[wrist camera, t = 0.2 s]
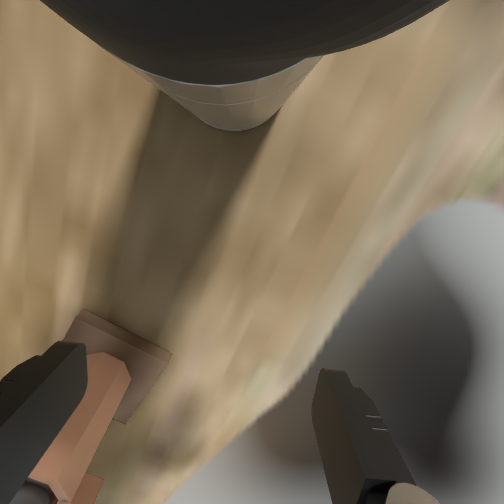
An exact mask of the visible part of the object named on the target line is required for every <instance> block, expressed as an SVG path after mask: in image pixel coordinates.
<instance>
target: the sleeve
mask: <svg viewBox="0 0 504 504" xmlns="http://www.w3.org/2000/svg"><path fill="white" fill-rule="evenodd" d="M87 373H88V384H87V389H86V392H85V395H84V397H83V399H82V401H81V402H80V404H79V405H78V407H77V408H76V409H75V411H74V412H73V414H72V415H71V416H70V418H69V419H68V421H67V422H66V424H65V425H64V426H63V428H62V429H61V431H60V432H59V434H58V435H57V436H56V438H55V439H54V441H53V442H52V444H51V445H50V446H49V448H48V449H47V451H46V452H45V454H44V455H43V456H42V458H41V459H40V461H39V462H38V464H37V465H36V466H35V468H34V469H33V471H32V472H31V473H30V475H29V476H28V478H31V479H34V480H37V481H39V482H42V483H45V484H48V485H49V487H50V488H51V490H52V491H51V492H50V494H49V497H50V503H49V504H94V501H95V499H96V497H97V494H98V492H99V490H100V487H101V485H102V483H103V480H104V479H101V478H99V477H96V476H93V475H91V474H88V473H86V470H87V468H88V466H89V464H90V462H91V460H92V458H93V456H94V454H95V452H96V450H97V448H98V446H99V444H100V442H101V440H102V438H103V436H104V434H105V432H106V430H107V428H108V426H109V424H110V422H111V420H112V418H113V416H114V414H115V412H116V410H117V408H118V406H119V404H120V402H121V400H122V397H123V395H124V393H125V391H126V389H127V387H128V385H129V383H130V381H131V377H130V374H129V372H128V370H127V367H126V365H125V363H124V362H123V361H121V360H119V359H117V358H115V357H113V356H111V355H109V354H107V353H105V352H100V353H94V354H88V355H87Z"/></svg>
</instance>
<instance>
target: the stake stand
mask: <svg viewBox="0 0 504 504" xmlns="http://www.w3.org/2000/svg"><path fill="white" fill-rule="evenodd" d="M63 341H67V342H77V343H84V344H85V346H86V354H87V355H88V354H94V353H100V352H105V353H107V354H109V355H111V356H113V357H115V358H117V359H119V360H121V361H123V362H124V363H125V365H126V367H127V370H128V372H129V374H130V377H131V381H130V383H129V385H128V387H127V389H126V391H125V393H124V395H123V397H122V400H121V402H120V404H119V406H118V408H117V410H116V412H115V414H114V416H113V418H112V419H114V420H117V421H119V422H121V423H124V424H126V422H127V421H128V419H129V418H130V417H131V415H132V414H133V412H134V411H135V410H136V408H137V407H138V405H139V404H140V403H141V401H142V400H143V399H144V397H145V396H146V394H147V393H148V392H149V390H150V389H151V387H152V386H153V385H154V383H155V382H156V380H157V379H158V378H159V376H160V375H161V373H162V372H163V371H164V369H165V368H166V366H167V365H168V364H169V361H170V358H171V355H172V354H171V353H169V352H167V351H165V350H164V349H162V348H160V347H158V346H156V345H154V344H152V343H150V342H148V341H146V340H144V339H142V338H140V337H138V336H136V335H134V334H132V333H130V332H128V331H126V330H124V329H122V328H120V327H118V326H116V325H114V324H112V323H110V322H108V321H106V320H104V319H102V318H100V317H98V316H96V315H95V314H93V313H91V312H89V311H87V310H85V309H84V310H83V311H82V312H81V313H80V314H78V315H77V316H76V318H75V319H74V321H73V323H72V325H71V327H70V328H69V330H68V332H67V334H66V336H65V337H64V339H63ZM51 491H52V490H51V488H50V487H49V485H48V484H45V483H42V482H39V481H37V480H34V479H31V478H27V479H26V481H25V482H24V483H23V485H22V486H21V488H20V489H19V491H18V492H17V493H16V495H15V496H14V498H13V499H12V501H11V502H10V503H9V504H49V503H50V497H49V494H50V492H51Z"/></svg>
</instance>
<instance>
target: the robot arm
mask: <svg viewBox="0 0 504 504" xmlns="http://www.w3.org/2000/svg"><path fill="white" fill-rule="evenodd" d="M40 1H42V2H43V3H44V4H45V5H47V6H48V7H49V8H50V9H52V10H53V11H54V12H55V13H57V14H58V15H59V16H61V17H62V18H63V19H64V20H66V21H67V22H68V23H70V24H71V25H72V26H74V27H75V28H76V29H78V30H79V31H80V32H82V33H83V34H85V35H86V36H87V37H89V38H90V39H91V40H93V41H94V42H96V43H97V44H98V45H100V46H101V47H102V48H103V49H105V50H106V51H107V52H109V53H110V54H112V55H113V56H114V57H116V58H117V59H118V60H120V61H121V62H122V63H124V64H125V65H127V66H128V67H129V68H131V69H132V70H133V71H135V72H136V73H138V74H139V75H140V76H142V77H143V78H145V79H146V80H148V81H149V82H150V83H152V84H153V85H154V86H156V87H157V88H158V89H160V90H161V91H163V92H164V93H165V94H167V95H168V96H169V97H171V98H172V99H174V100H175V101H176V102H178V103H179V104H180V105H182V106H183V107H184V108H186V109H187V110H189V111H190V112H191V113H193V114H194V115H195V116H197V117H198V118H200V119H201V121H203V122H204V123H206V124H208V125H210V126H213V127H215V128H218V129H221V130H226V131H244V130H248V129H252V128H255V127H257V126H259V125H261V124H263V123H264V122H266V121H267V120H268V119H269V118H270V117H272V116H273V115H274V114H275V113H276V112H277V110H278V109H279V108H280V107H281V106H282V105H283V104H284V103H285V101H286V100H287V99H288V98H289V97H290V95H291V94H292V93H293V92H294V91H295V89H296V88H297V87H298V86H299V85H300V83H301V82H302V81H303V80H304V79H305V77H306V76H307V75H308V74H309V73H310V71H311V70H312V69H313V68H314V67H315V65H316V64H317V63H318V62H319V61H320V59H321V58H322V57H323V56H324V55H327V54H331V53H335V52H340V51H344V50H347V49H350V48H354V47H357V46H361V45H363V44H366V43H369V42H371V41H374V40H377V39H379V38H382V37H384V36H386V35H388V34H390V33H392V32H394V31H397V30H399V29H401V28H403V27H405V26H407V25H409V24H411V23H412V22H414V21H416V20H417V19H419V18H421V17H422V16H424V15H426V14H428V13H429V12H431V11H433V10H434V9H436V8H438V7H439V6H441V5H443V4H444V3H446V2H448V1H449V0H40ZM87 384H88V373H87V354H86V346H85V344H84V343H77V342H67V341H58V342H56V343H55V344H53V345H52V346H51V347H50V348H49V349H48V350H47V351H46V352H45V353H44V354H43V355H42V356H38V355H36V356H34V357H32V358H30V359H28V360H27V361H25V362H23V363H21V364H19V365H17V366H16V367H15V368H14V369H13V370H11V371H10V372H9V373H8V374H7V375H6V376H5V377H3V378H2V379H1V382H0V504H9V503H10V502H11V501H12V499H13V498H14V496H15V495H16V493H17V492H18V491H19V489H20V488H21V486H22V485H23V483H24V482H25V481H26V479H27V478H28V476H29V475H30V473H31V472H32V471H33V469H34V468H35V466H36V465H37V464H38V462H39V461H40V459H41V458H42V456H43V455H44V454H45V452H46V451H47V449H48V448H49V446H50V445H51V444H52V442H53V441H54V439H55V438H56V436H57V435H58V434H59V432H60V431H61V429H62V428H63V426H64V425H65V424H66V422H67V421H68V419H69V418H70V416H71V415H72V414H73V412H74V411H75V409H76V408H77V407H78V405H79V404H80V402H81V401H82V399H83V397H84V395H85V392H86V389H87ZM312 422H313V426H314V430H315V435H316V439H317V443H318V447H319V451H320V455H321V459H322V463H323V467H324V471H325V475H326V479H327V484H328V487H329V492H330V496H331V499H332V503H333V504H440V503H439V502H438V501H437V500H436V499H435V498H434V497H433V496H431V495H430V494H428V493H427V492H426V491H425V490H423V489H421V488H419V487H417V485H416V484H415V481H414V479H413V478H412V476H411V474H410V472H409V470H408V468H407V466H406V464H405V462H404V460H403V458H402V456H401V455H400V453H399V451H398V449H397V447H396V445H395V443H394V441H393V439H392V437H391V435H390V433H389V432H387V428H386V426H385V424H384V422H383V420H382V419H381V418H380V414H379V412H378V410H377V408H376V407H375V405H374V403H373V401H372V400H371V399H370V398H369V397H368V396H367V395H366V394H365V393H364V391H363V390H362V389H361V388H356V387H355V388H354V387H353V386H352V384H351V382H350V380H349V378H348V376H347V373H346V372H345V371H344V370H336V369H327V368H322V369H321V370H320V373H319V377H318V381H317V386H316V390H315V394H314V399H313V402H312Z"/></svg>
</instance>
